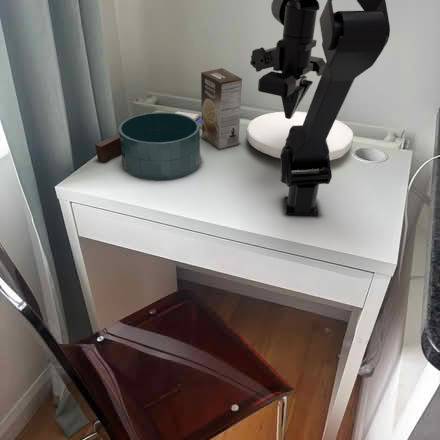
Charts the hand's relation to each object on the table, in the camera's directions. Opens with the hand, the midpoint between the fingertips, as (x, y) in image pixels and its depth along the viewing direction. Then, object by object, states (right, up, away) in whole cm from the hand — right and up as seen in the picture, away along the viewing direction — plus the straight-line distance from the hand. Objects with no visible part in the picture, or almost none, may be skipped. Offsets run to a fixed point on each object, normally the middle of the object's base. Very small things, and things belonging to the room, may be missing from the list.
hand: (288, 118), depth 95 cm
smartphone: (-26, +10, +30) cm, 41 cm away
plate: (+6, +1, +21) cm, 21 cm away
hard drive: (-15, +11, +32) cm, 37 cm away
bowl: (-28, -6, +13) cm, 31 cm away
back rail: (-38, -1, +17) cm, 42 cm away
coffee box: (-14, +3, +23) cm, 27 cm away
